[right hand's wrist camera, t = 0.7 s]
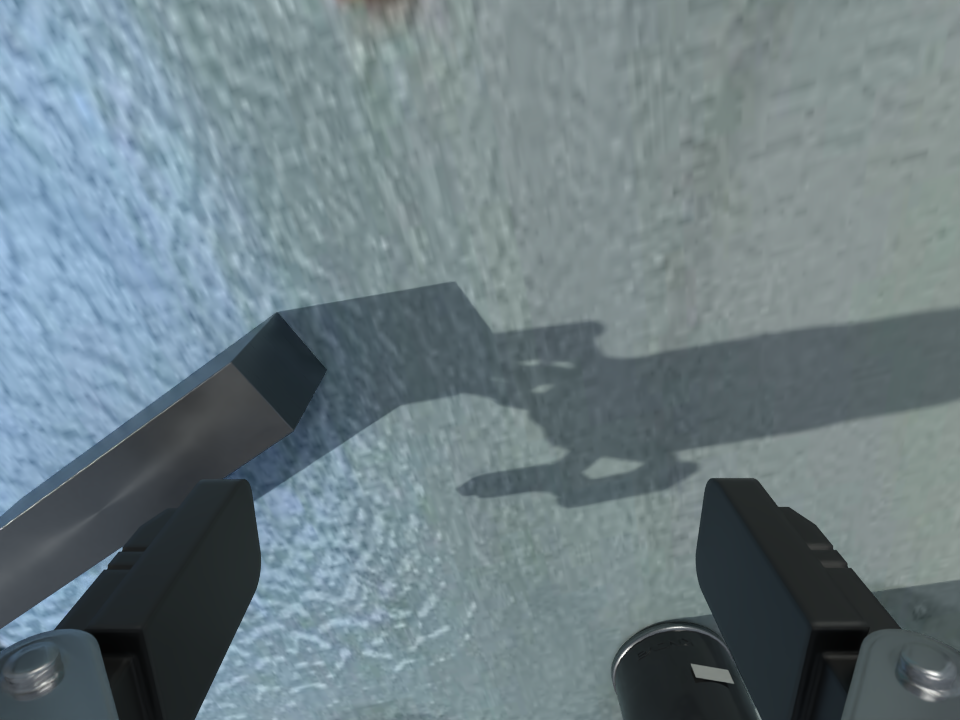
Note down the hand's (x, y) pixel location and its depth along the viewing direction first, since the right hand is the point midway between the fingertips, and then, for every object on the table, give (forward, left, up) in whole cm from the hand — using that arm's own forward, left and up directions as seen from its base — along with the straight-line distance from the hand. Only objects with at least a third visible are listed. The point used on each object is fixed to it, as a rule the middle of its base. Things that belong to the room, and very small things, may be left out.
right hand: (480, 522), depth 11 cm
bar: (-6, +24, -29) cm, 38 cm away
